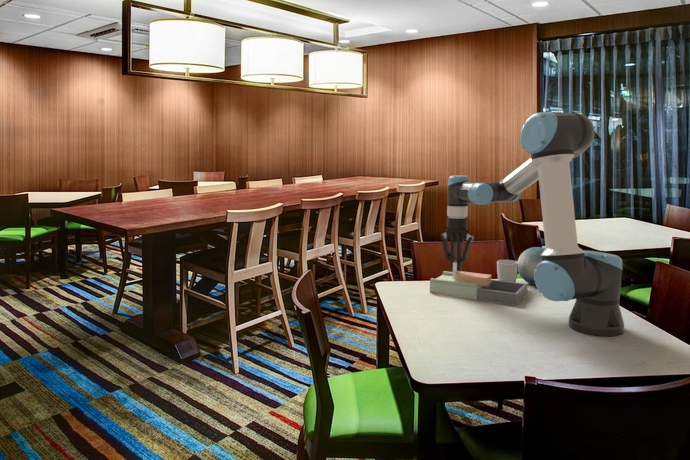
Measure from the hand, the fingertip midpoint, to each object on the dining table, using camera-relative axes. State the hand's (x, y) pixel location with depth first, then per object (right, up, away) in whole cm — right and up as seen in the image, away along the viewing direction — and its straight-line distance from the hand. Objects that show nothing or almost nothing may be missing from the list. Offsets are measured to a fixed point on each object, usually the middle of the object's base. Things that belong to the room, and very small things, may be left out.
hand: (455, 278), depth 198 cm
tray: (+15, -6, -8) cm, 18 cm away
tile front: (+8, -1, -5) cm, 10 cm away
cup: (+21, -4, +6) cm, 22 cm away
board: (+1, -5, 0) cm, 5 cm away
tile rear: (+3, -1, -2) cm, 4 cm away
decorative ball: (+34, -3, +9) cm, 35 cm away
